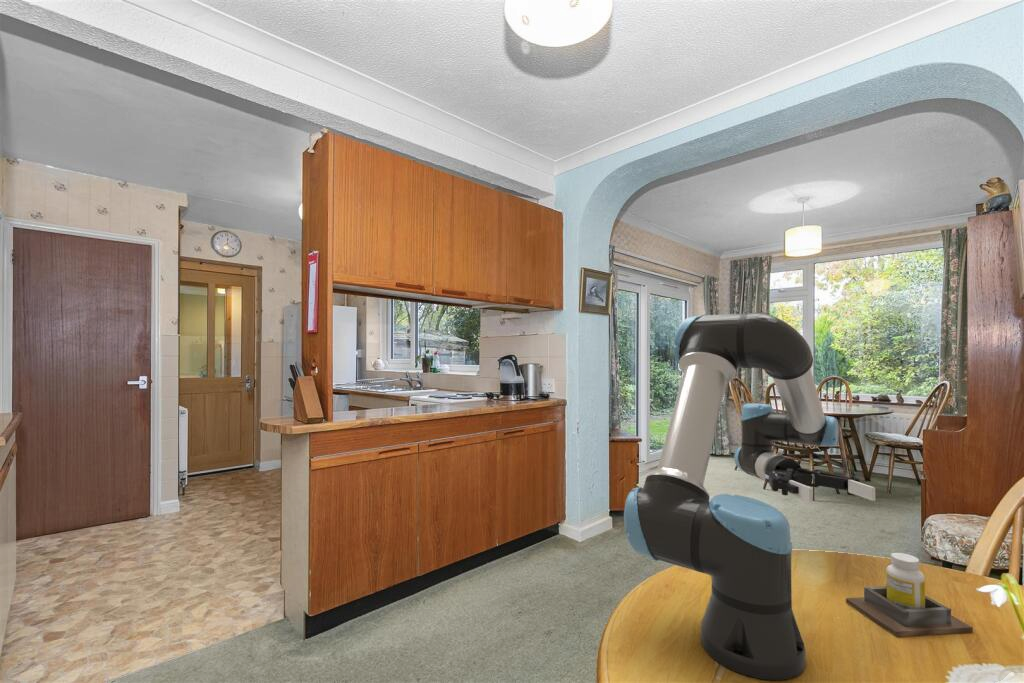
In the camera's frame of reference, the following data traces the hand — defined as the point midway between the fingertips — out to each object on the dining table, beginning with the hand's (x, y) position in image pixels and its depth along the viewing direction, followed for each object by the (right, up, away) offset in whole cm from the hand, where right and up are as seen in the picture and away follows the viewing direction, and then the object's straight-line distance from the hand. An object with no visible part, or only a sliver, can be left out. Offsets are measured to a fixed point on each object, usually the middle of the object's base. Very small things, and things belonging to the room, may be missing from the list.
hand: (842, 494), depth 100 cm
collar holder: (+3, -18, -13) cm, 22 cm away
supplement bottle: (+3, -17, -13) cm, 22 cm away
